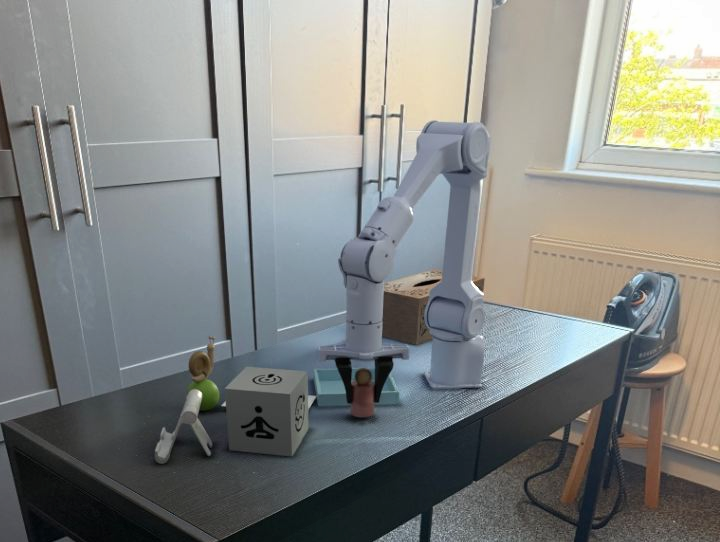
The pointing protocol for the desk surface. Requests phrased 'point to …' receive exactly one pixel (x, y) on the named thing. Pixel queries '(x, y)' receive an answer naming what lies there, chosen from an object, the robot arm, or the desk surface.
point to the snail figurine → (204, 376)
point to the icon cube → (267, 410)
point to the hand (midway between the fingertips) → (362, 401)
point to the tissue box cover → (411, 306)
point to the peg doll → (363, 394)
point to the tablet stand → (187, 417)
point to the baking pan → (334, 392)
